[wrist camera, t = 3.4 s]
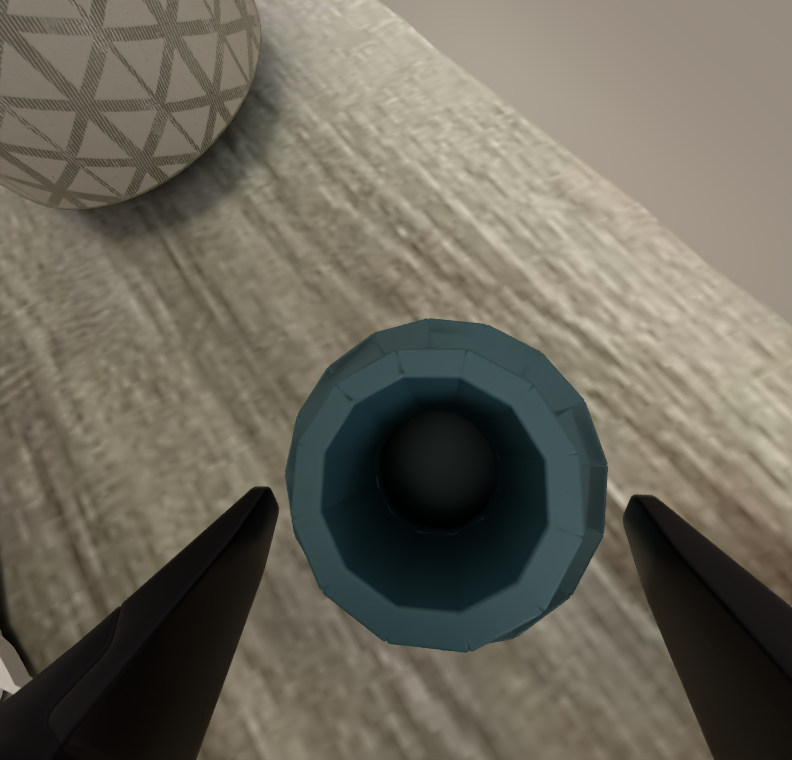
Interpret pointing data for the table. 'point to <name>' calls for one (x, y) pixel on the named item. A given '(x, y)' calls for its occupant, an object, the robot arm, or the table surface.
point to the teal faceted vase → (446, 485)
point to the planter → (117, 92)
